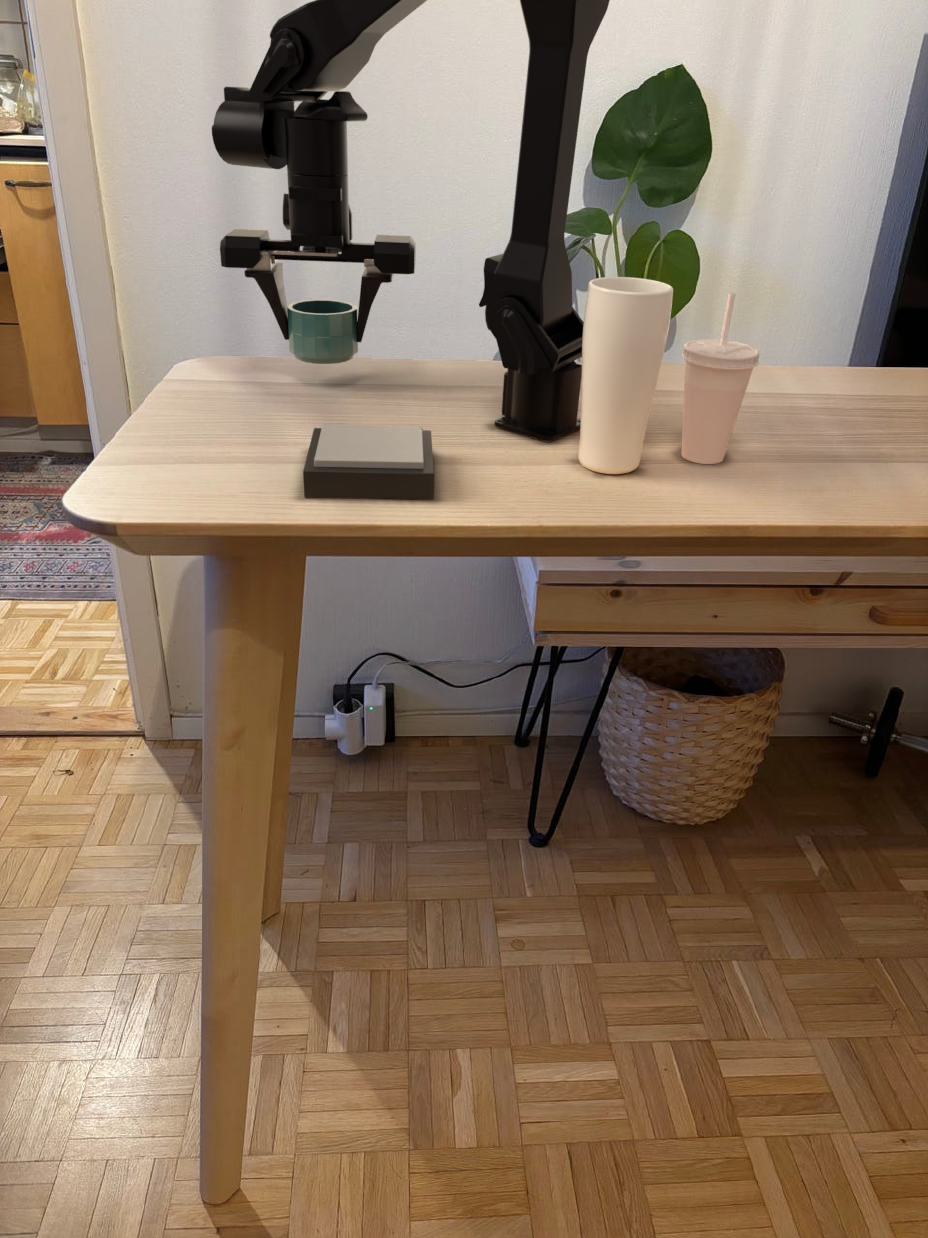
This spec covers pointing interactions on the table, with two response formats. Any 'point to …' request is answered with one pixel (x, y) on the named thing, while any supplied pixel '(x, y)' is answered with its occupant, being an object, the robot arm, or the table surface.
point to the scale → (369, 462)
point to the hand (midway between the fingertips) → (323, 340)
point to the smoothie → (714, 392)
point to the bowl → (322, 331)
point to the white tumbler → (620, 368)
